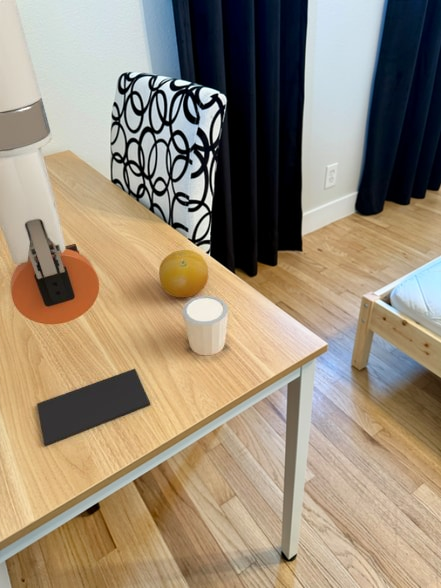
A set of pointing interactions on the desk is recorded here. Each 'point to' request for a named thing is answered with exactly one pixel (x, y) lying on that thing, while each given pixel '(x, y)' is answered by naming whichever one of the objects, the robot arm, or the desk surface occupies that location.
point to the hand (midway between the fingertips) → (58, 294)
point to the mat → (91, 406)
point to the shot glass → (206, 324)
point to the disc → (35, 309)
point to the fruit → (183, 273)
